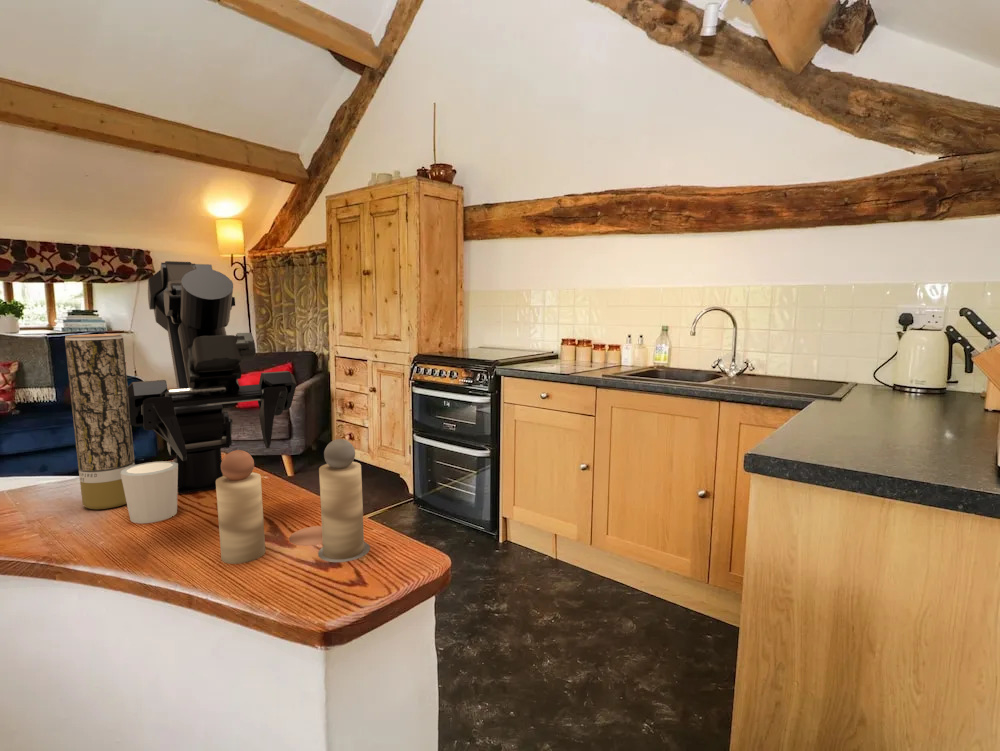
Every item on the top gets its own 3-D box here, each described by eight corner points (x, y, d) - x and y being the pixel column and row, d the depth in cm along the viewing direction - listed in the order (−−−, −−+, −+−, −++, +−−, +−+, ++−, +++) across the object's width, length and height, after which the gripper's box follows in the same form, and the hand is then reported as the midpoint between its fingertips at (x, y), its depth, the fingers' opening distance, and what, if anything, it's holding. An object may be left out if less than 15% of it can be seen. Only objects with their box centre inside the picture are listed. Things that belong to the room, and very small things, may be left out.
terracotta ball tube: (263, 550, 67) (256, 443, 66) (268, 566, 63) (260, 452, 62) (221, 559, 65) (212, 448, 63) (222, 575, 61) (214, 458, 59)
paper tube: (110, 512, 80) (92, 337, 76) (70, 509, 81) (51, 336, 78) (148, 496, 86) (134, 334, 83) (111, 493, 87) (95, 333, 84)
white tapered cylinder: (121, 514, 79) (117, 466, 78) (177, 503, 83) (173, 457, 82) (128, 529, 74) (123, 478, 73) (187, 516, 78) (183, 468, 77)
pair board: (273, 544, 69) (272, 536, 69) (323, 527, 74) (323, 519, 74) (332, 577, 60) (332, 569, 60) (385, 555, 66) (384, 547, 66)
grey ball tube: (358, 539, 68) (354, 432, 66) (368, 553, 64) (364, 441, 62) (319, 547, 66) (314, 437, 64) (327, 562, 62) (322, 446, 60)
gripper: (120, 313, 64) (133, 424, 56) (288, 310, 75) (318, 403, 67) (124, 374, 71) (136, 480, 64) (276, 364, 82) (303, 453, 74)
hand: (228, 452), depth 67 cm, fingers open, 9 cm apart
